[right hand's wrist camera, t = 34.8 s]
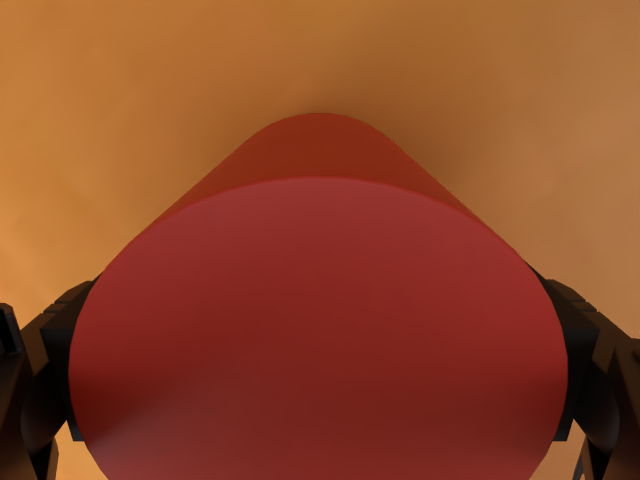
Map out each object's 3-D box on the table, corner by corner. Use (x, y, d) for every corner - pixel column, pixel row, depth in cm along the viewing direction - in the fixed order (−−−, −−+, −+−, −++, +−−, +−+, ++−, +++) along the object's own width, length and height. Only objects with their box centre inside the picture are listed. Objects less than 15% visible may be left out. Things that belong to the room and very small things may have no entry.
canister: (418, 307, 18) (529, 565, 9) (228, 314, 18) (128, 576, 9) (429, 107, 15) (624, 162, 5) (199, 118, 15) (-8, 189, 6)
